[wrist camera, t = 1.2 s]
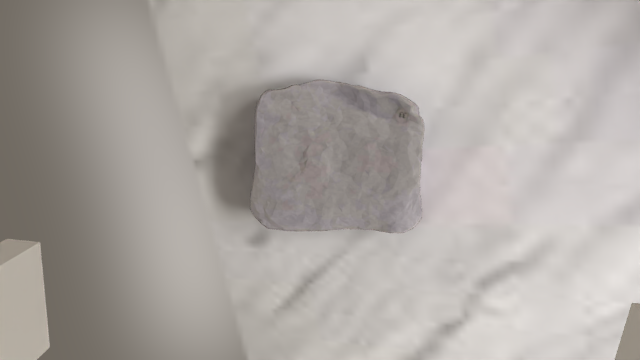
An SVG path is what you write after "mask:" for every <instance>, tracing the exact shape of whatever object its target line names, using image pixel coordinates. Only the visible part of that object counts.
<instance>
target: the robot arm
mask: <svg viewBox="0 0 640 360" xmlns="http://www.w3.org/2000/svg"><path fill="white" fill-rule="evenodd" d="M49 347H50V344H49V333H48V322H47V311H46V301H45V290H44V279H43V268H42V258H41V247H40V242H33V241H24V240H14V239H6V240H4V241H2V242H0V360H37V359H38V358H39V357H40V356H41V355H42V354H43V353H44V352H45V351H46V350H47V349H48V348H49ZM615 360H640V304H638V303H632V304H631V308H630V311H629V314H628V317H627V321H626V324H625V327H624V331H623V334H622V337H621V341H620V344H619V347H618V351H617V354H616V357H615Z"/></svg>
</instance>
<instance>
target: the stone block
mask: <svg viewBox="0 0 640 360" xmlns="http://www.w3.org/2000/svg"><path fill="white" fill-rule="evenodd" d="M423 138H424V122H423V119H422V117H421V116H420V115H419V108H418V106H417V105H416V104H415V103H414V102H412V101H411V100H409V99H408V98H406V97H404V96H402V95H401V94H397V93H393V92H381V91H376V90H371V89H368V88H365V87H362V86H356V85H349V84H346V83H341V82H333V81H327V80H315V81H312V82H308V83H303V84H301V85H292V86H290V87H287V88H284V89H277V90H267V91H265V92H264V93H263V94H262V95H261V97H260V99H259V101H258V102H257V105H256V111H255V126H254V139H255V160H256V165H255V171H254V178H253V187H252V189H251V194H250V210H251V212H252V213H253V215H254V216H255V218H256V219H258V221H259V222H260V223H261V224H262V225H264V226H265V227H267V228H268V229H279V230H284V231H327V230H336V229H363V230H377V231H382V232H387V233H404V232H406V231H408V230H411V229H412V228H414V227H415V226H416V225H417V224H418V222H419V221H420V220H421V218H422V208H421V196H420V174H421V161H422V144H423Z"/></svg>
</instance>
